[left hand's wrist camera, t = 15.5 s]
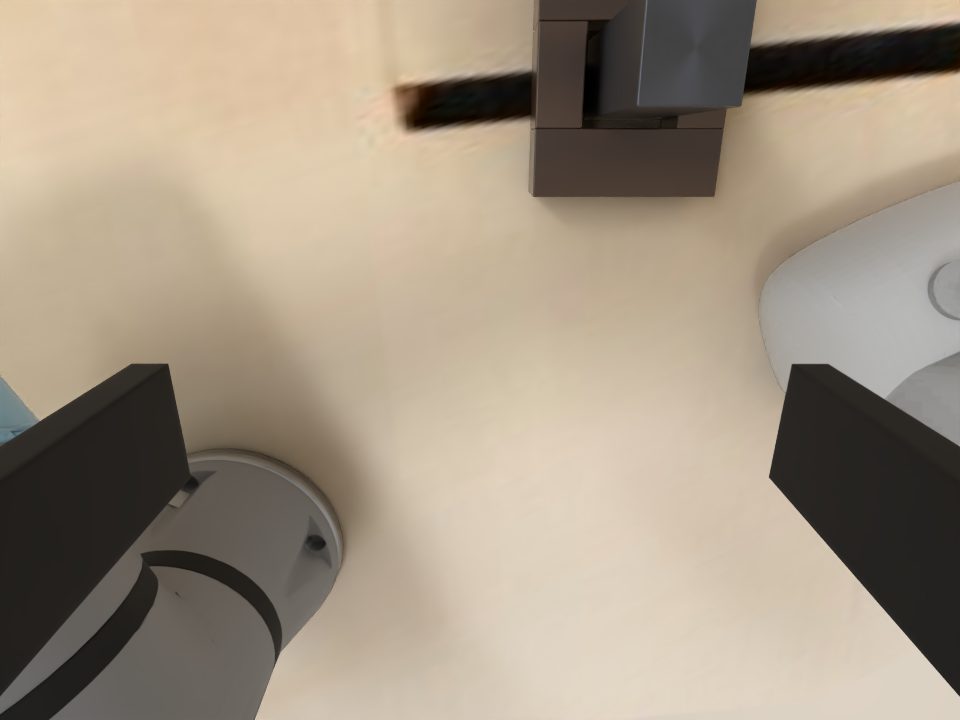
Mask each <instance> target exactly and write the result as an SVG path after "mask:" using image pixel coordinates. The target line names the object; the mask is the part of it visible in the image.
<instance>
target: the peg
mask: <svg viewBox="0 0 960 720" xmlns="http://www.w3.org/2000/svg"><path fill="white" fill-rule="evenodd" d="M756 1H757V0H631V1H630V2H629V3H628V4H627V5H626V6H625V7H624V8H623V9H622V10H621V11H620V12H619V13H618V14H617V15H616V16H615V17H614V18H613V19H611V20H610V21H609V22H608V23H607V24H606V25H605V26H604V27H603V28H602V29H601V30H600V31H599V32H598V33H597V34H596V35H595V36H594V37H593V38H592V39H591V40H590V41H589V42H588V56H587V73H586V90H585V107H584V120H655V119H661V118H668V117H674V116H681V115H688V114H694V113H701V112H707V111H714V110H720V109H727V108H734V107H740V106H741V104H742V98H743V91H744V84H745V77H746V70H747V63H748V56H749V49H750V42H751V35H752V28H753V21H754V14H755V7H756Z"/></svg>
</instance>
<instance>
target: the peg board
mask: <svg viewBox="0 0 960 720" xmlns="http://www.w3.org/2000/svg"><path fill="white" fill-rule="evenodd" d="M630 1H631V0H534V22H533V31H534V32H533V59H532V94H531V129H532V130H531V131H530V163H529V193H530V194H531V195H532V196H533V197H714V195H715V188H716V180H717V173H718V166H719V158H720V151H721V144H722V136H723V129H722V128H724V123H725V116H726V109H720V110H714V111H707V112H701V113H694V114H688V115H681V116H674V117H668V118H662V120H661V128H582V120H583V102H584V85H585V67H586V50H587V33H588V31H600V30H601V29H602V28H603V27H604V26H605V25H606V24H607V23H608V22H609V21H610V20H611V19H613V18H614V17H615V16H616V15H617V14H618V13H619V12H620V11H621V10H622V9H623V8H624V7H625V6H626V5H627V4H628V3H629V2H630Z"/></svg>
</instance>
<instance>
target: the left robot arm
mask: <svg viewBox="0 0 960 720" xmlns="http://www.w3.org/2000/svg"><path fill="white" fill-rule="evenodd" d="M769 478H770V479H771V480H772V481H773V483H774V484H775V485H776V486H777V487H778V488H779V489H780V491H781V492H782V493H783V494H784V495H785V496H786V497H787V499H788V500H789V501H790V502H791V503H792V504H793V506H794V507H795V508H796V509H797V510H798V511H799V512H800V514H801V515H802V516H803V517H804V518H805V519H806V520H807V522H808V523H809V524H810V525H811V526H812V527H813V528H814V530H815V531H816V532H817V533H818V534H819V535H820V537H821V538H822V539H823V540H824V541H825V542H826V543H827V545H828V546H829V547H830V548H831V549H832V550H833V551H834V553H835V554H836V555H837V556H838V557H839V558H840V560H841V561H842V562H843V563H844V564H845V565H846V566H847V568H848V569H849V570H850V571H851V572H852V573H853V574H854V576H855V577H856V578H857V579H858V580H859V581H860V582H861V584H862V585H863V586H864V587H865V588H866V589H867V591H868V592H869V593H870V594H871V595H872V596H873V597H874V599H875V600H876V601H877V602H878V603H879V604H880V605H881V607H882V608H883V609H884V610H885V611H886V612H887V614H888V615H889V616H890V617H891V618H892V619H893V620H894V622H895V623H896V624H897V625H898V626H899V627H900V628H901V630H902V631H903V632H904V633H905V634H906V635H907V636H908V638H909V639H910V640H911V641H912V642H913V643H914V645H915V646H916V647H917V648H918V649H919V650H920V651H921V653H922V654H923V655H924V656H925V657H926V658H927V659H928V661H929V662H930V663H931V664H932V665H933V666H934V667H935V669H936V670H937V671H938V672H939V673H940V674H941V676H942V677H943V678H944V679H945V680H946V681H947V682H948V683H949V685H950V686H951V687H952V688H953V689H954V690H955V692H956V693H957V694H958V695H959V696H960V446H958V445H957V444H955V443H954V442H952V441H950V440H949V439H947V438H946V437H944V436H942V435H941V434H939V433H938V432H936V431H935V430H933V429H931V428H930V427H928V426H927V425H925V424H923V423H922V422H920V421H919V420H917V419H915V418H914V417H912V416H911V415H909V414H907V413H906V412H904V411H903V410H901V409H899V408H898V407H896V406H895V405H893V404H891V403H890V402H888V401H887V400H885V399H884V398H882V397H880V396H879V395H877V394H876V393H874V392H872V391H871V390H869V389H868V388H866V387H864V386H863V385H861V384H860V383H858V382H856V381H855V380H853V379H852V378H850V377H848V376H847V375H845V374H844V373H842V372H840V371H839V370H837V369H836V368H834V367H833V366H831V365H829V364H792V365H791V370H790V375H789V380H788V385H787V390H786V395H785V400H784V405H783V410H782V415H781V420H780V425H779V430H778V435H777V440H776V445H775V450H774V455H773V460H772V465H771V470H770V475H769ZM342 554H343V539H342V532H341V528H340V524H339V521H338V519H337V516H336V514H335V512H334V510H333V508H332V507H331V505H330V503H329V502H328V500H327V499H326V498H325V496H324V495H323V494H322V493H321V491H320V490H319V489H318V488H317V487H316V486H315V485H314V484H313V483H312V482H311V481H310V480H308V479H307V478H306V477H305V476H303V475H302V474H301V473H299V472H298V471H296V470H295V469H293V468H292V467H290V466H288V465H286V464H284V463H282V462H280V461H278V460H275V459H273V458H270V457H268V456H265V455H262V454H258V453H254V452H249V451H243V450H234V449H215V450H206V451H201V452H197V453H193V454H189V455H186V450H185V445H184V440H183V435H182V430H181V425H180V420H179V415H178V410H177V405H176V400H175V395H174V390H173V385H172V380H171V375H170V370H169V365H168V364H131V365H129V366H127V367H126V368H124V369H123V370H121V371H120V372H118V373H116V374H115V375H113V376H112V377H110V378H108V379H107V380H105V381H104V382H102V383H100V384H99V385H97V386H96V387H94V388H92V389H91V390H89V391H88V392H86V393H84V394H83V395H81V396H80V397H78V398H76V399H75V400H73V401H72V402H70V403H69V404H67V405H65V406H64V407H62V408H61V409H59V410H57V411H56V412H54V413H53V414H51V415H49V416H48V417H46V418H45V419H43V420H41V421H39V420H38V419H37V418H36V416H35V415H34V414H33V413H32V412H31V411H30V410H29V408H28V407H27V406H26V405H25V404H24V403H23V401H22V400H21V399H20V398H19V397H18V396H17V394H16V393H15V392H14V391H13V390H12V389H11V388H10V386H9V385H8V384H7V383H6V382H5V381H4V379H3V378H2V377H1V376H0V720H255V717H256V715H257V712H258V709H259V707H260V704H261V701H262V699H263V696H264V693H265V691H266V688H267V685H268V682H269V680H270V677H271V674H272V672H273V669H274V667H275V664H276V662H277V659H278V657H279V654H280V652H281V651H282V650H283V649H284V648H285V646H286V645H287V644H288V643H289V642H290V641H291V640H292V639H293V637H294V636H295V635H296V634H297V633H298V632H299V631H300V630H301V628H302V627H303V626H304V625H305V624H306V623H307V622H308V620H309V619H310V618H311V617H312V616H313V615H314V614H315V613H316V611H317V610H318V609H319V608H320V607H321V605H322V604H323V602H324V601H325V599H326V598H327V596H328V594H329V593H330V591H331V589H332V587H333V585H334V582H335V580H336V577H337V574H338V571H339V568H340V564H341V560H342Z"/></svg>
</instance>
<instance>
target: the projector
mask: <svg viewBox="0 0 960 720" xmlns="http://www.w3.org/2000/svg"><path fill="white" fill-rule="evenodd" d="M759 322H760V327H761V332H762V336H763V340H764V344H765V347H766V350H767V354H768V357H769V360H770V363H771V366H772V368H773V371H774V374H775V376H776V379H777V382H778V384H779V386H780V388H781V389H782V390H783V391H784V392H785V393H786V390H787V385H788V380H789V375H790V370H791V365H792V364H829V365H831V366H833V367H834V368H836V369H837V370H839V371H840V372H842V373H844V374H845V375H847V376H848V377H850V378H852V379H853V380H855V381H856V382H858V383H860V384H861V385H863V386H864V387H866V388H868V389H869V390H871V391H872V392H874V393H876V394H877V395H879V396H880V397H882V398H884V399H885V400H887V401H888V402H890V403H891V404H893V405H895V406H896V407H898V408H899V409H901V410H903V411H904V412H906V413H907V414H909V415H911V416H912V417H914V418H915V419H917V420H919V421H920V422H922V423H923V424H925V425H927V426H928V427H930V428H931V429H933V430H935V431H936V432H938V433H939V434H941V435H942V436H944V437H946V438H947V439H949V440H950V441H952V442H954V443H955V444H957V445H958V446H960V181H957V182H954V183H951V184H948V185H945V186H942V187H939V188H936V189H934V190H931V191H928V192H925V193H923V194H920V195H918V196H915V197H912V198H910V199H907V200H905V201H902V202H900V203H897V204H895V205H892V206H890V207H887V208H885V209H883V210H881V211H878V212H876V213H874V214H871V215H869V216H867V217H864V218H862V219H860V220H858V221H856V222H854V223H852V224H849V225H847V226H845V227H843V228H841V229H839V230H837V231H835V232H833V233H831V234H829V235H827V236H825V237H823V238H821V239H819V240H817V241H816V242H814V243H812V244H810V245H809V246H807V247H805V248H804V249H802V250H800V251H799V252H797V253H796V254H794V255H793V256H791V257H790V258H788V259H787V260H785V261H784V262H783V263H782V264H780V265H779V266H778V267H777V268H776V269H775V270H774V271H773V272H772V273H771V274H770V276H769V277H768V279H767V280H766V282H765V284H764V287H763V289H762V292H761V297H760V302H759Z"/></svg>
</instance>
